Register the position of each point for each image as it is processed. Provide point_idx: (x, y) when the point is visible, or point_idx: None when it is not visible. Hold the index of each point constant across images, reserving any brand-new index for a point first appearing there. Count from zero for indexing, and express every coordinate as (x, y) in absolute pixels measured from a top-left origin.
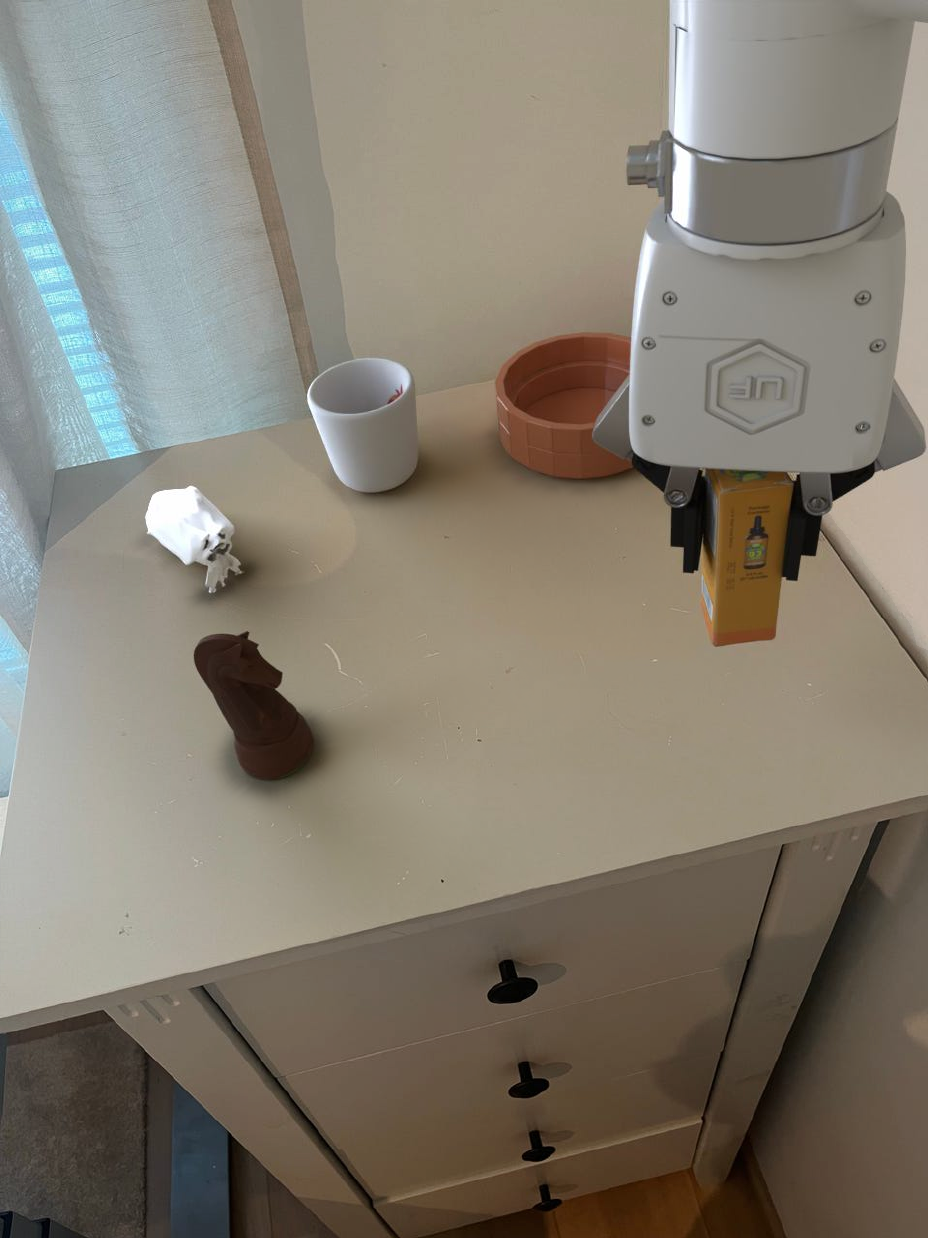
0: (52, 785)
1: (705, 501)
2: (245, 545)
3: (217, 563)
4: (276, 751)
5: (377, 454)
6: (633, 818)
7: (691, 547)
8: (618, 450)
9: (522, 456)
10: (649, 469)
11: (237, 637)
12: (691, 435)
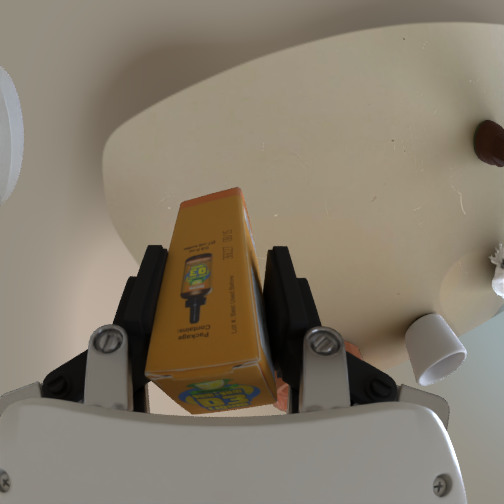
0: None
1: (268, 338)
2: (483, 273)
3: (501, 258)
4: (496, 130)
5: (434, 335)
6: (286, 78)
7: (284, 273)
8: (414, 395)
9: (353, 348)
10: (370, 378)
11: None
12: (360, 491)
